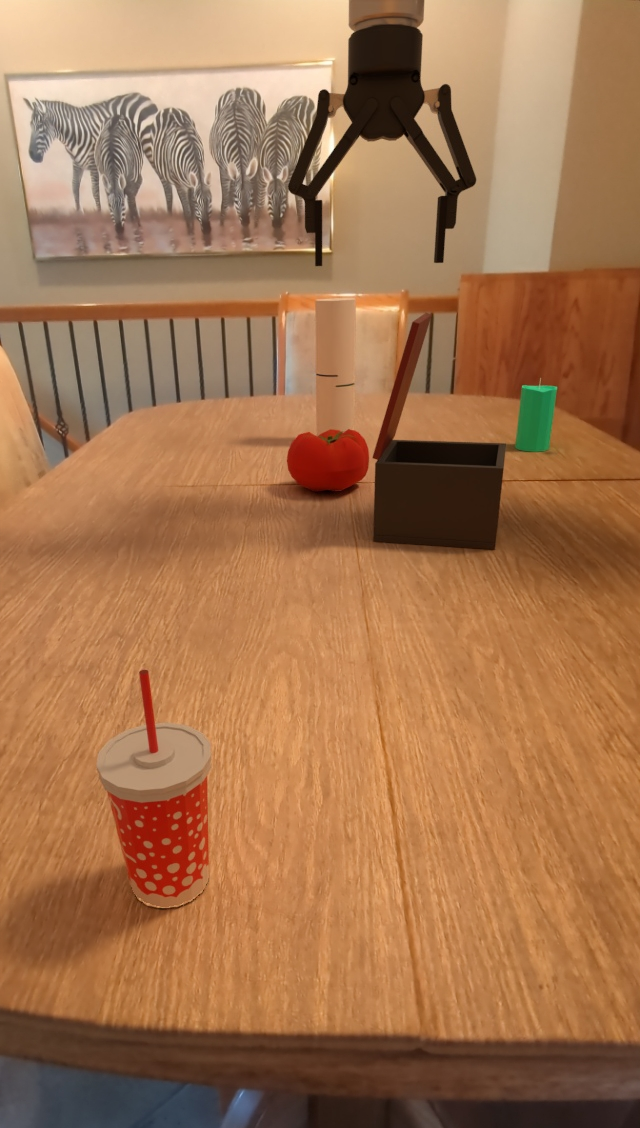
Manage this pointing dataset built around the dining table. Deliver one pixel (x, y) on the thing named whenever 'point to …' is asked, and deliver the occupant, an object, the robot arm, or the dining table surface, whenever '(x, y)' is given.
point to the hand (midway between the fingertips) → (378, 264)
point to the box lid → (402, 383)
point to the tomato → (328, 460)
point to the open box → (438, 493)
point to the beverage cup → (160, 805)
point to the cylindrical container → (335, 363)
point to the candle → (535, 418)
